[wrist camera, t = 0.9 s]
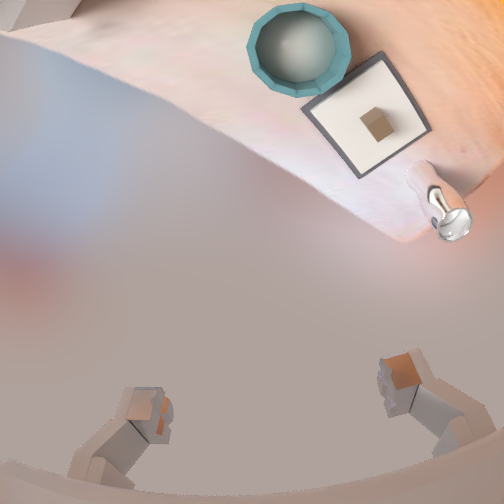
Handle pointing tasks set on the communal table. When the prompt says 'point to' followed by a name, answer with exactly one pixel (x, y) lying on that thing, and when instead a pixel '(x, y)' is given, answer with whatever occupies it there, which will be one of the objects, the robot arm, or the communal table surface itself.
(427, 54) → the communal table surface
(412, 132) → the lid
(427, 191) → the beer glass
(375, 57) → the mat
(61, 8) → the milk carton
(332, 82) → the bowl
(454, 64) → the communal table surface
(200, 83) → the communal table surface
